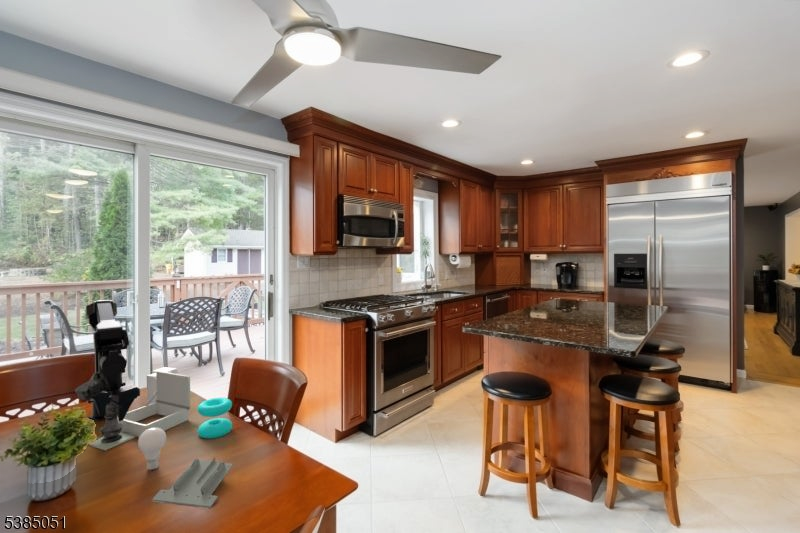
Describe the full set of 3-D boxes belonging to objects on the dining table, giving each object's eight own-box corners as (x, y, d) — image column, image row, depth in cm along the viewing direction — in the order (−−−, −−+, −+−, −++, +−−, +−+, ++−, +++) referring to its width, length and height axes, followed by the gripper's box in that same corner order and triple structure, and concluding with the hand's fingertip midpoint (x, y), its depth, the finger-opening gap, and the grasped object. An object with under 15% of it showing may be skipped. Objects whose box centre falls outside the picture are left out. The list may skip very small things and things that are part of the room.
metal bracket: (188, 451, 101) (240, 456, 98) (193, 468, 103) (244, 474, 100) (146, 499, 87) (205, 506, 85) (152, 518, 89) (210, 525, 87)
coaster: (87, 444, 115) (87, 442, 115) (117, 432, 123) (117, 431, 123) (105, 450, 112) (105, 448, 112) (134, 437, 120) (134, 435, 120)
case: (112, 429, 125) (111, 384, 125) (159, 411, 140) (158, 370, 139) (145, 438, 119) (144, 391, 119) (190, 418, 134) (190, 376, 133)
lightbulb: (172, 465, 104) (171, 425, 104) (150, 477, 98) (149, 435, 98) (155, 460, 106) (154, 421, 106) (132, 473, 100) (131, 431, 100)
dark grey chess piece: (105, 445, 114) (104, 405, 113) (95, 440, 116) (95, 401, 116) (127, 437, 119) (127, 399, 118) (117, 433, 122) (117, 395, 121)
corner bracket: (164, 396, 155) (163, 367, 155) (187, 399, 152) (186, 369, 152) (140, 406, 145) (139, 374, 144) (164, 409, 142) (163, 377, 141)
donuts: (216, 394, 130) (238, 398, 126) (216, 423, 130) (239, 428, 126) (190, 405, 120) (213, 410, 117) (190, 436, 121) (214, 442, 117)
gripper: (60, 371, 113) (61, 423, 113) (100, 379, 106) (101, 435, 106) (102, 361, 123) (103, 409, 124) (140, 368, 116) (141, 419, 116)
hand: (111, 418), depth 117 cm, fingers open, 9 cm apart
